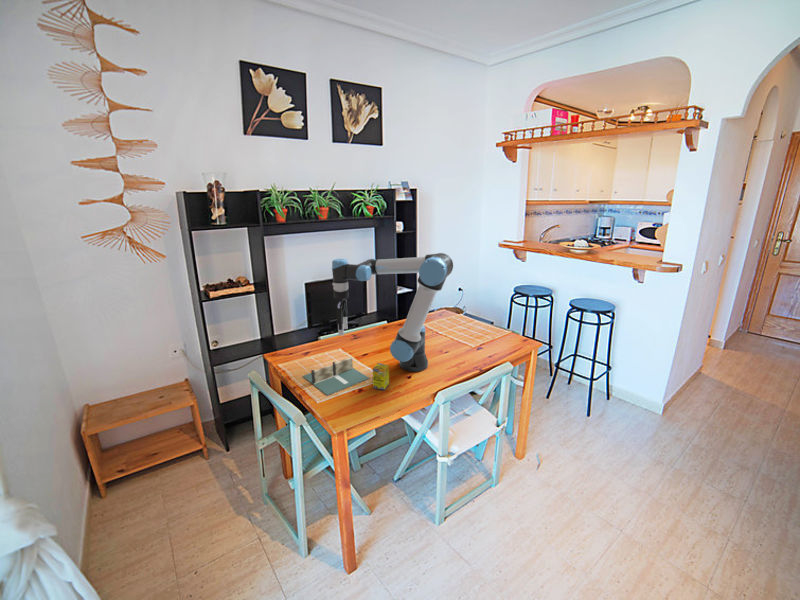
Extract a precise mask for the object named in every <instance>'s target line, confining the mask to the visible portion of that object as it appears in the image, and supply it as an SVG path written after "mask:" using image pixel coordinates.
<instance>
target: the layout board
mask: <svg viewBox="0 0 800 600" xmlns="http://www.w3.org/2000/svg"><path fill="white" fill-rule="evenodd" d="M331 365H332V366H333V364H331ZM302 377H303V378H304V379H305V380H306V381H308V382H309V383H310V384H312V374H311V372H310V373H307V374H303V375H302ZM367 380H370V377H369V376H367V375H365V374H364V373H362V372H361V371H359V370H358V369H356V368H354V367H353V369H350V370H348V371H345V372H342V373H340V374H337V375H333V377H330V378H328V379H325V380H322V381H320V382H317V383H314V384H312V385H313V386H314V387H315V388H317V389H318V390H319V391H321V393H323V394H324V395H325V396H330V395H331V396H332V395H333V394H335V392H336V393H337V392H340V390H341V391H342V390H345V388H346V389H348V388H350V387H352V385H353V386H355V385H358V384H360V383H363V382H365V381H367ZM362 381H363V382H362ZM357 383H358V384H357ZM347 387H348V388H347Z"/></svg>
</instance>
